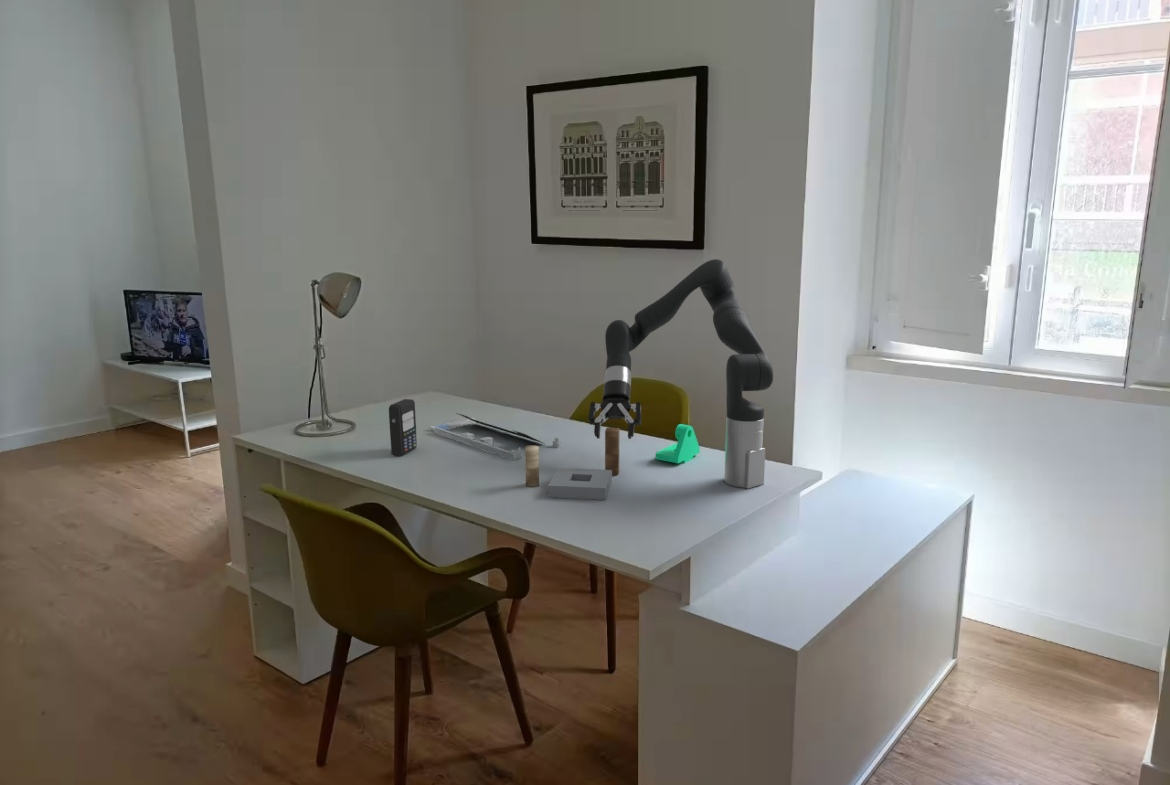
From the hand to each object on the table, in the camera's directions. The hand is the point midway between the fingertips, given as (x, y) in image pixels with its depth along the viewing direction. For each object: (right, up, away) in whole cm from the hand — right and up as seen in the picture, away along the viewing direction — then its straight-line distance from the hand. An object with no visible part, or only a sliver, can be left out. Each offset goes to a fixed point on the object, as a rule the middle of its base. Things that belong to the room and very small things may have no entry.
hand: (613, 437), depth 223 cm
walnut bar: (0, -9, -2) cm, 10 cm away
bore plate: (-9, -12, -14) cm, 21 cm away
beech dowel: (-21, -11, -11) cm, 26 cm away
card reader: (-60, -5, +17) cm, 62 cm away
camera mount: (+18, -7, +10) cm, 22 cm away
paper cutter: (-36, -3, +31) cm, 48 cm away
